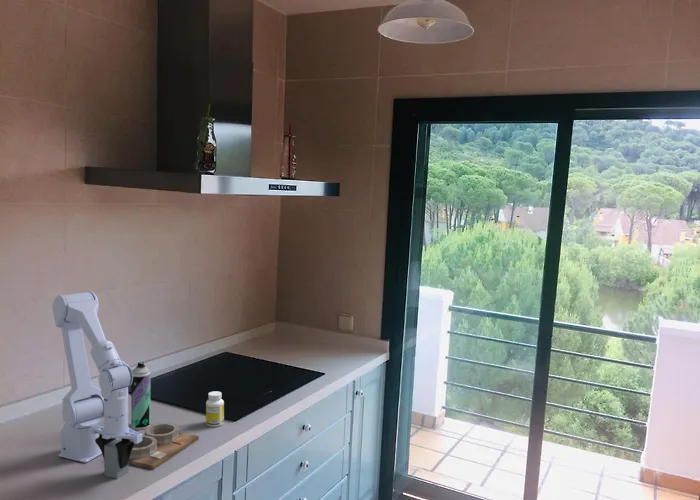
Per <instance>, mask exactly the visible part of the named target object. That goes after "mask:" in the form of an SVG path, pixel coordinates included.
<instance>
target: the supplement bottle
mask: <svg viewBox="0 0 700 500" xmlns="http://www.w3.org/2000/svg"><path fill="white" fill-rule="evenodd" d="M222 395H223V394H222V392H221V391H217V390H216V391H214V390H213V391H210V392H208V398H207V400H206V402H205V424H206V425H207V427H212V428H217V427H220V426H223V424H224V423H225V401H224V400H223V399H222V397H223V396H222Z"/></svg>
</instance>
